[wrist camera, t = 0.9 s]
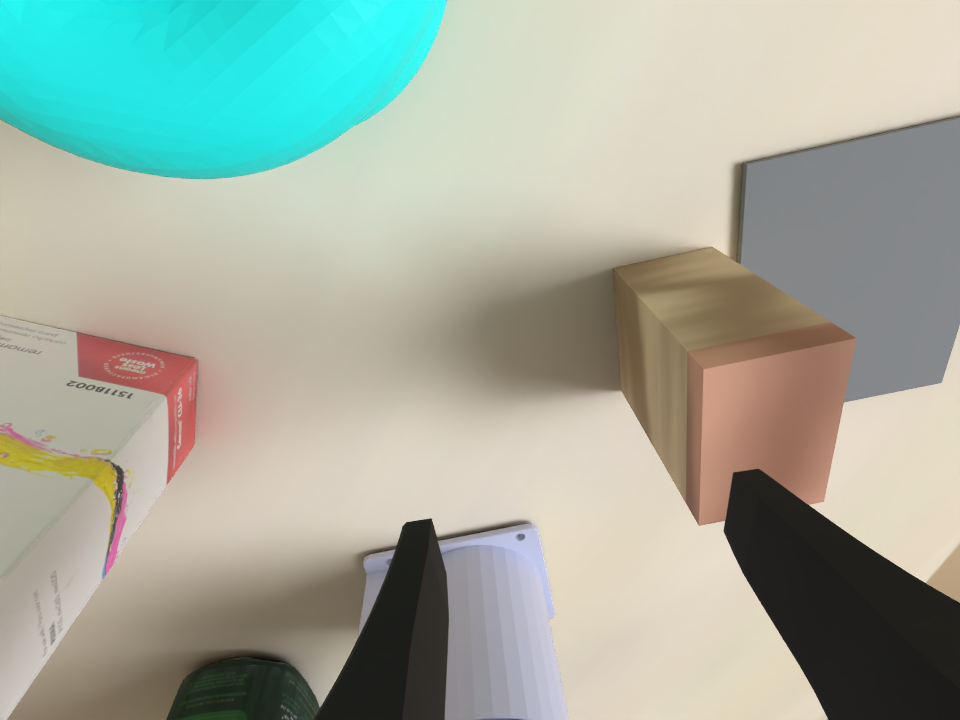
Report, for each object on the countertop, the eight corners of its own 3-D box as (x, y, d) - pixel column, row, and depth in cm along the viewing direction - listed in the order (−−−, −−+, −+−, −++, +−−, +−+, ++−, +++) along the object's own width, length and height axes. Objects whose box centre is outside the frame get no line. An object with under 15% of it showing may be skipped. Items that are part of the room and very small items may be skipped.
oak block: (621, 390, 23) (699, 525, 16) (613, 268, 20) (703, 369, 13) (707, 372, 23) (823, 501, 16) (712, 247, 20) (856, 338, 13)
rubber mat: (727, 421, 24) (730, 424, 24) (742, 163, 19) (747, 164, 18) (936, 379, 24) (941, 382, 24) (1020, 103, 18) (1028, 103, 18)
